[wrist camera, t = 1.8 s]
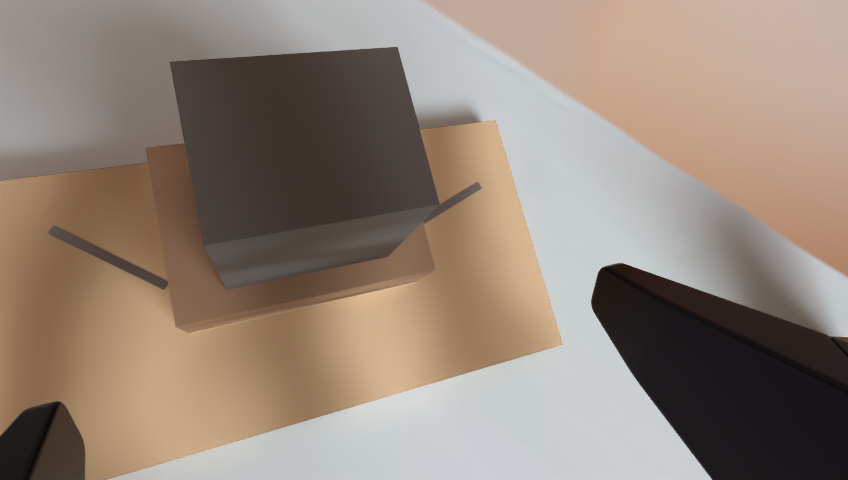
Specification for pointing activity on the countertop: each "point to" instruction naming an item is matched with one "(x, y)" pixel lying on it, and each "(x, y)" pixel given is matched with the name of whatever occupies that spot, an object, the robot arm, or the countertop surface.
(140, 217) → the pine board
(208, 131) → the sanding block
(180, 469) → the countertop surface
